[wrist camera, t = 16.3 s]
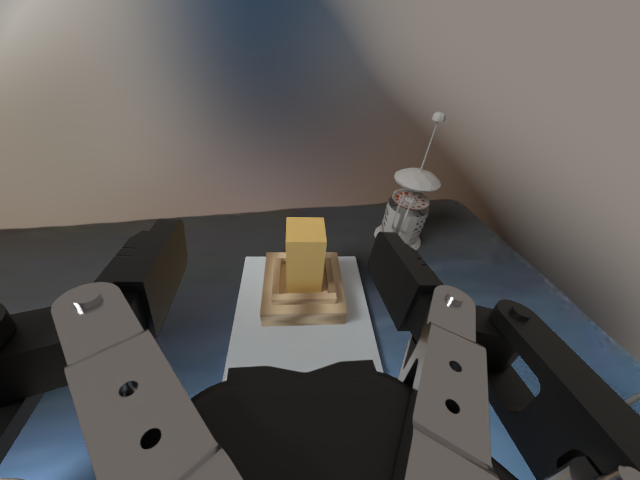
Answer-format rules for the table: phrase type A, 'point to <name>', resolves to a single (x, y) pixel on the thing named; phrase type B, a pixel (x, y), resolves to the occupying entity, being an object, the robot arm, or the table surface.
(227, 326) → the table surface
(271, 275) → the beech base slab
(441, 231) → the table surface
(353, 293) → the white rectangular board
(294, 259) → the ochre pillar
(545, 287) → the table surface
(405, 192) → the french press
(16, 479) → the teacup
